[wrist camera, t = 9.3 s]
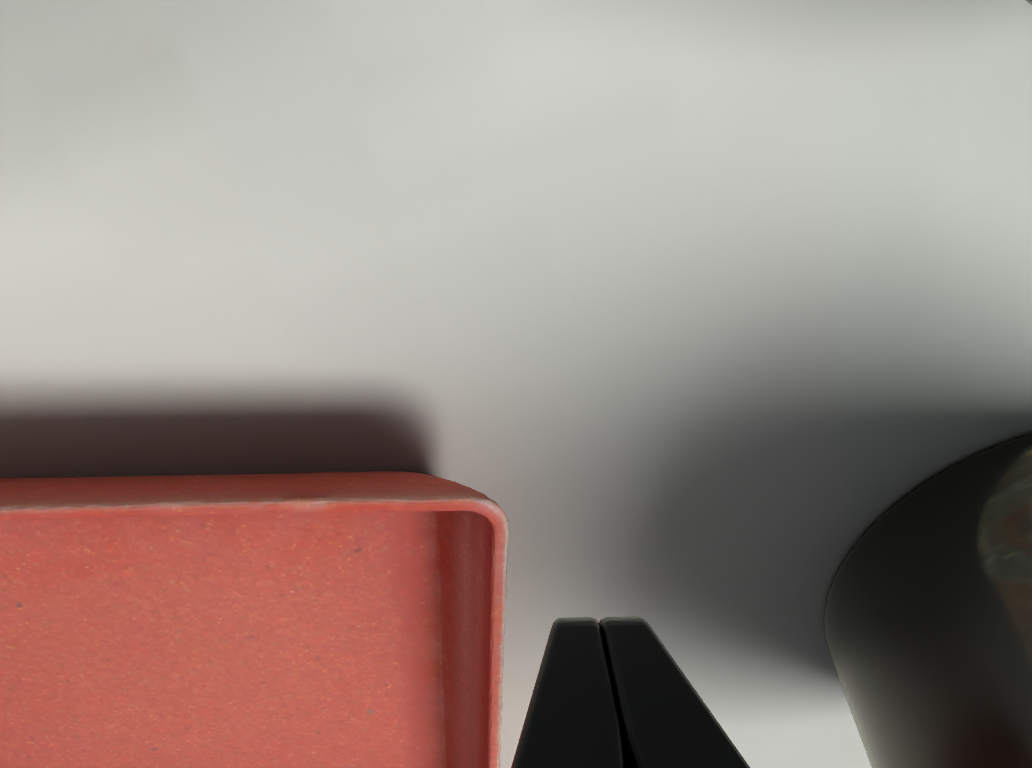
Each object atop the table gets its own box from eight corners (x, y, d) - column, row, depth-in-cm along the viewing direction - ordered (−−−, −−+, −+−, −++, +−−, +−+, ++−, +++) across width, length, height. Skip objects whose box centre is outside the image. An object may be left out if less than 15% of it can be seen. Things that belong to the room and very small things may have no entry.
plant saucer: (494, 802, 34) (497, 898, 31) (-31, 821, 33) (-73, 923, 30) (503, 402, 23) (510, 499, 20) (-283, 412, 22) (-383, 516, 19)
